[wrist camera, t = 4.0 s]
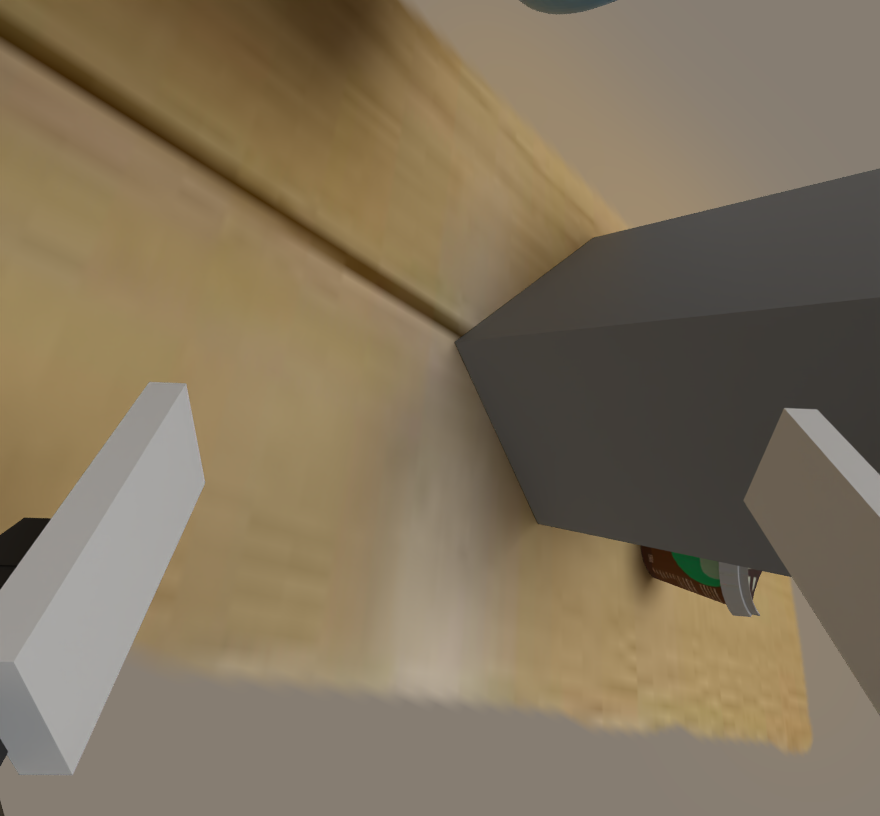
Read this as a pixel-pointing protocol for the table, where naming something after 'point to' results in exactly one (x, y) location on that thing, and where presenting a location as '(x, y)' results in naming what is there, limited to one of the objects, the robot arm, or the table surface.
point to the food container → (706, 578)
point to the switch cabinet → (687, 365)
